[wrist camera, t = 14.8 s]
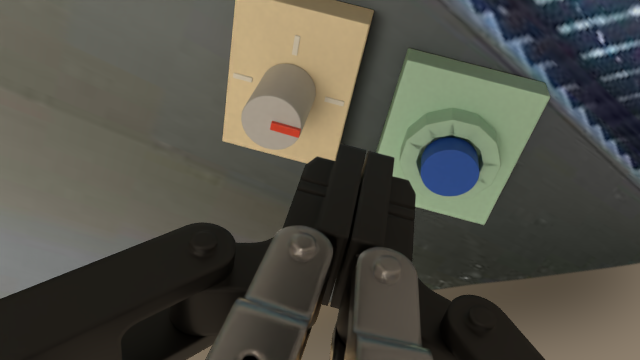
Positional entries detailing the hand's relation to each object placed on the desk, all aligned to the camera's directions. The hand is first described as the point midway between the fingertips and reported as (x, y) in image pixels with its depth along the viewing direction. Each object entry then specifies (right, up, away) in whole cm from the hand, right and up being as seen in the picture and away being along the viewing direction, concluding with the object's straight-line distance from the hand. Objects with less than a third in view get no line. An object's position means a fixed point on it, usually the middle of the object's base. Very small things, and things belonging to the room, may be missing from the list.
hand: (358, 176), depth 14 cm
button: (+8, +1, +24) cm, 26 cm away
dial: (-3, +6, +24) cm, 25 cm away
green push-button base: (+9, +3, +27) cm, 29 cm away
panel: (-3, +8, +26) cm, 27 cm away
